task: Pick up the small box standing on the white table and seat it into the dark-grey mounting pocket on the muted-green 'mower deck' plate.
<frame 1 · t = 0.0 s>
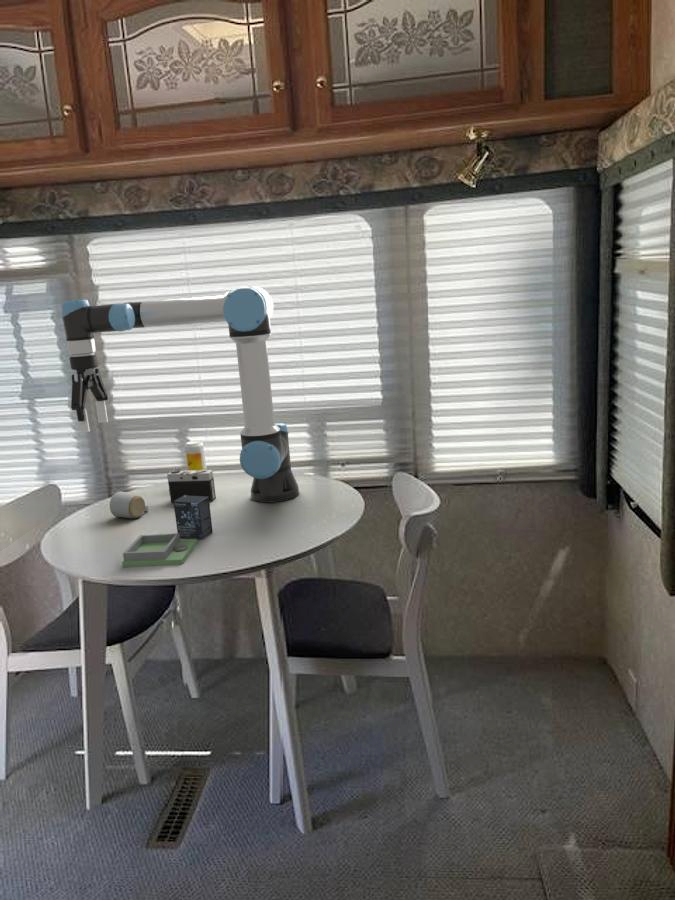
hand: (94, 427, 204), 28 cm above the table, fingers open, 13 cm apart
box: (195, 536, 189), on the table
deck: (161, 554, 177), on the table
camera: (195, 499, 223), on the table
white and yellow cylinder: (199, 485, 238), on the table
ceramic mug: (132, 516, 210), on the table
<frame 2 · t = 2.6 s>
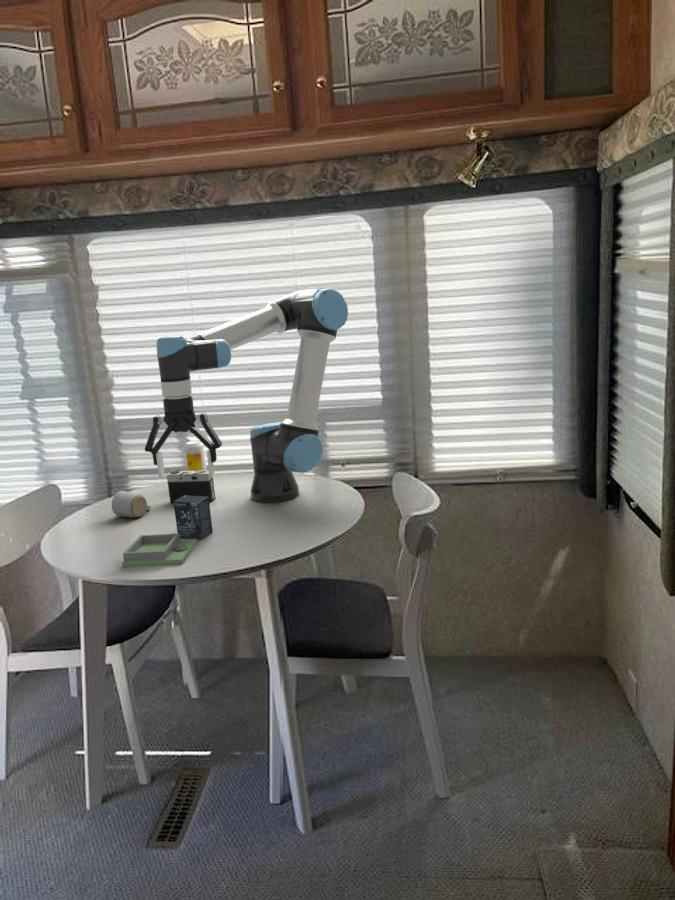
hand: (186, 475, 185), 17 cm above the table, fingers open, 13 cm apart
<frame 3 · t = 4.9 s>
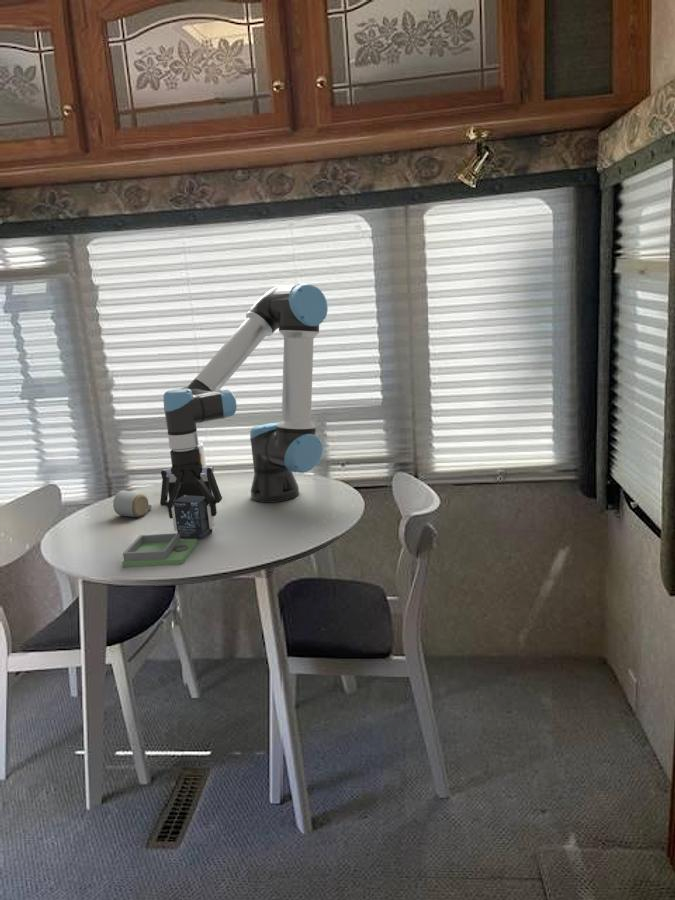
hand: (194, 528, 188), 2 cm above the table, fingers closed on box, 9 cm apart
box: (195, 535, 189), on the table, touching gripper
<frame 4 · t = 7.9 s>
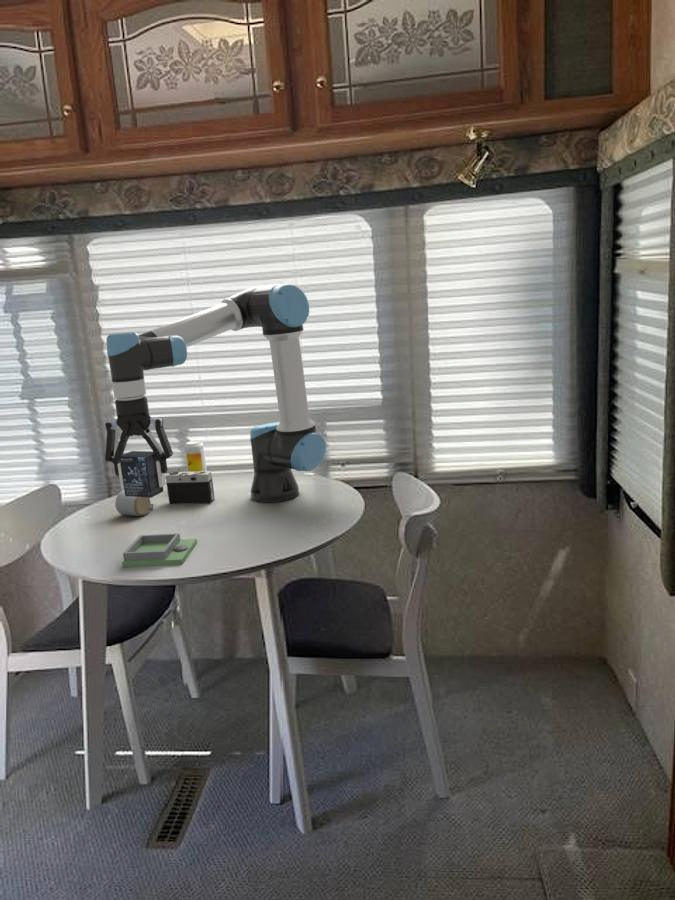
hand: (143, 486, 173), 18 cm above the table, fingers closed on box, 9 cm apart
box: (144, 495, 173), point 16 cm above the table, touching gripper
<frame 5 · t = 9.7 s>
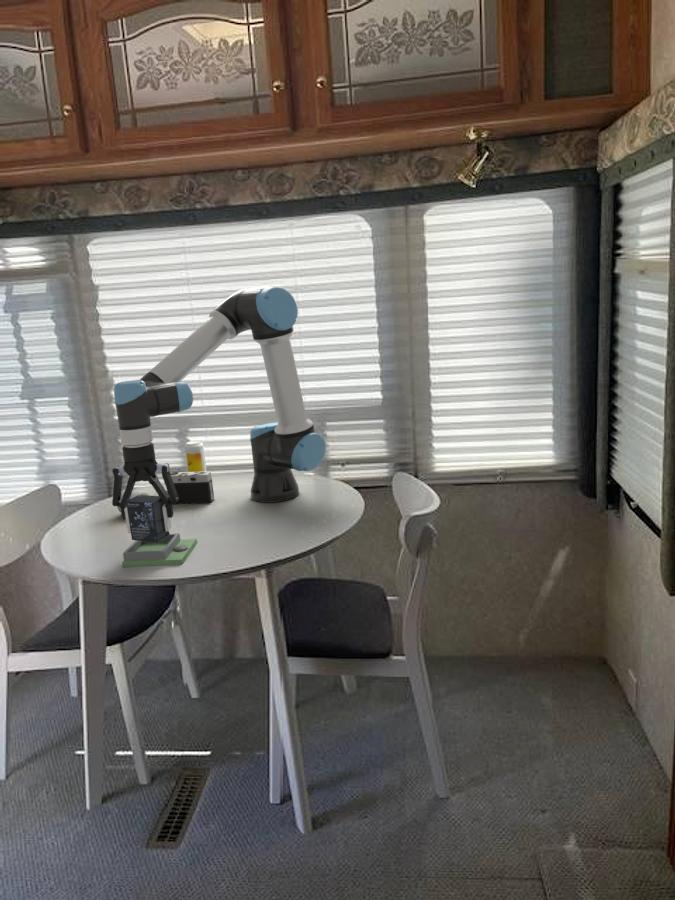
hand: (149, 530, 175), 7 cm above the table, fingers closed on box, 9 cm apart
box: (151, 538, 176), point 4 cm above the table, touching gripper
when the fingers open (5 cm above the table, at t = 11.0 s): box stays where it is, resting on deck.
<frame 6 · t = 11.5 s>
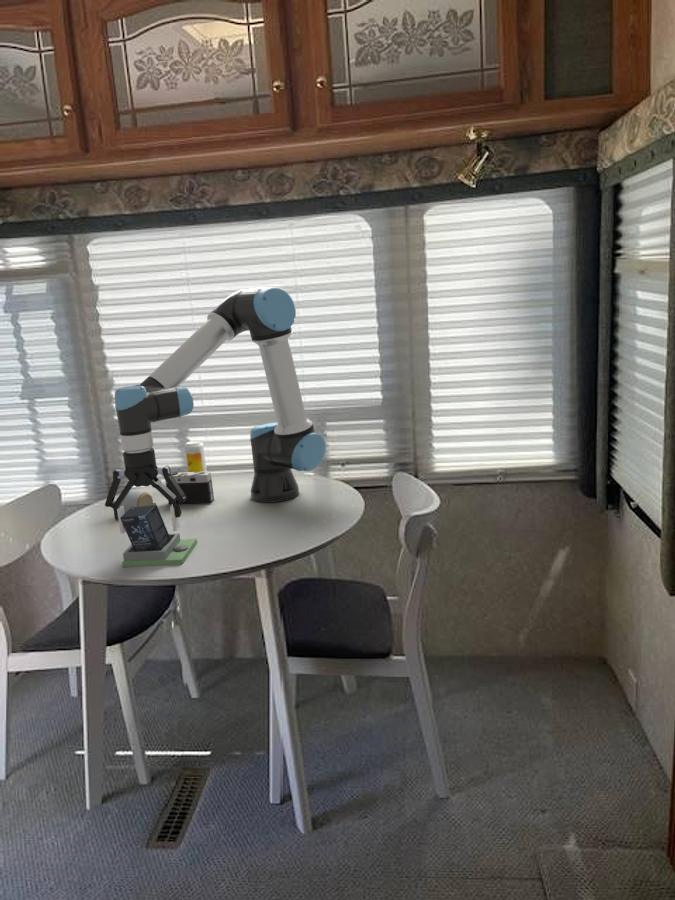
hand: (150, 530, 175), 7 cm above the table, fingers open, 13 cm apart
box: (153, 547, 176), point 2 cm above the table, touching deck
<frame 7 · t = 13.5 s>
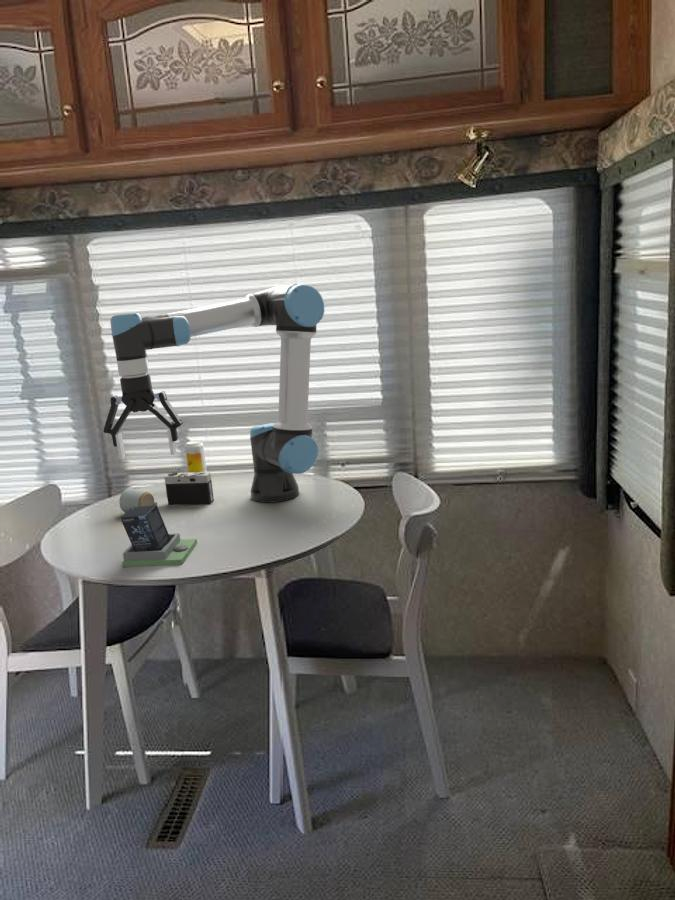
hand: (148, 455, 181), 24 cm above the table, fingers open, 13 cm apart
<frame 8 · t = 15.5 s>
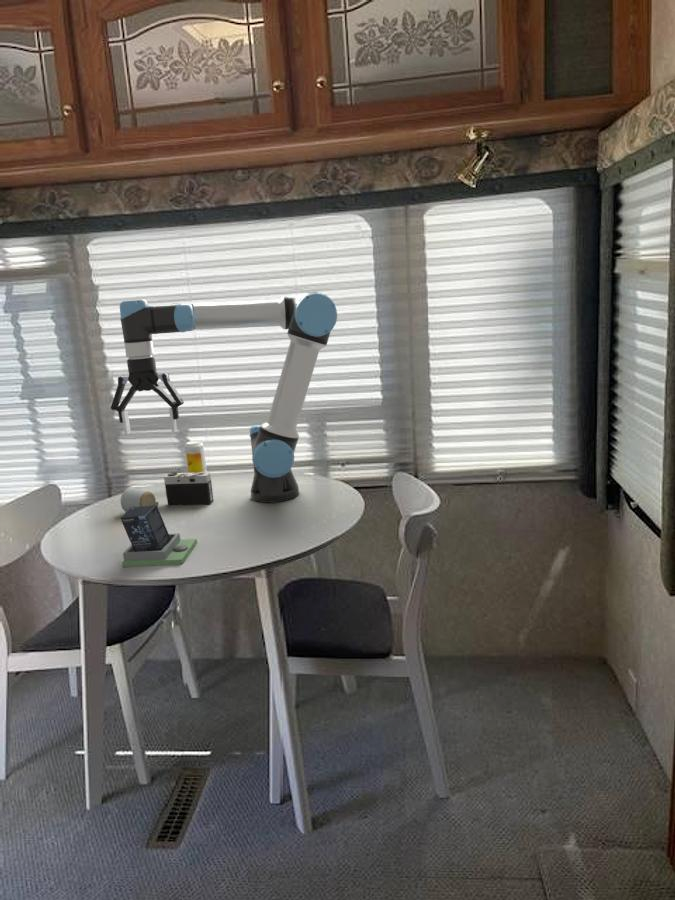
hand: (151, 432, 196), 27 cm above the table, fingers open, 13 cm apart
at the end: box 0.3 cm from the target spot on the deck, point 2.0 cm above the deck's base; box tilted 14°; the gripper is holding nothing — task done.
